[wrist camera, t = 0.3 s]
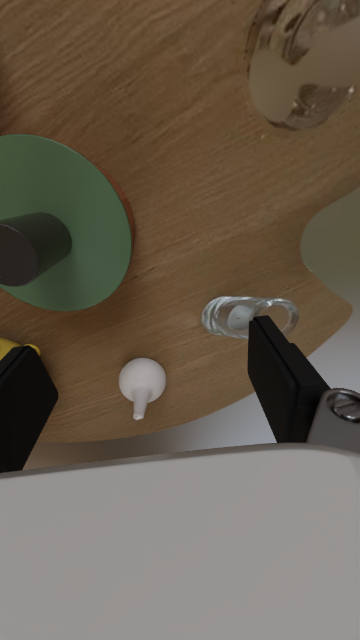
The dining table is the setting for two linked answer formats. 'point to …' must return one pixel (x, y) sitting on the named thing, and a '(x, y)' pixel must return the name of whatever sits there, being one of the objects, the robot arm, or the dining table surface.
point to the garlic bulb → (142, 383)
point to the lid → (58, 226)
